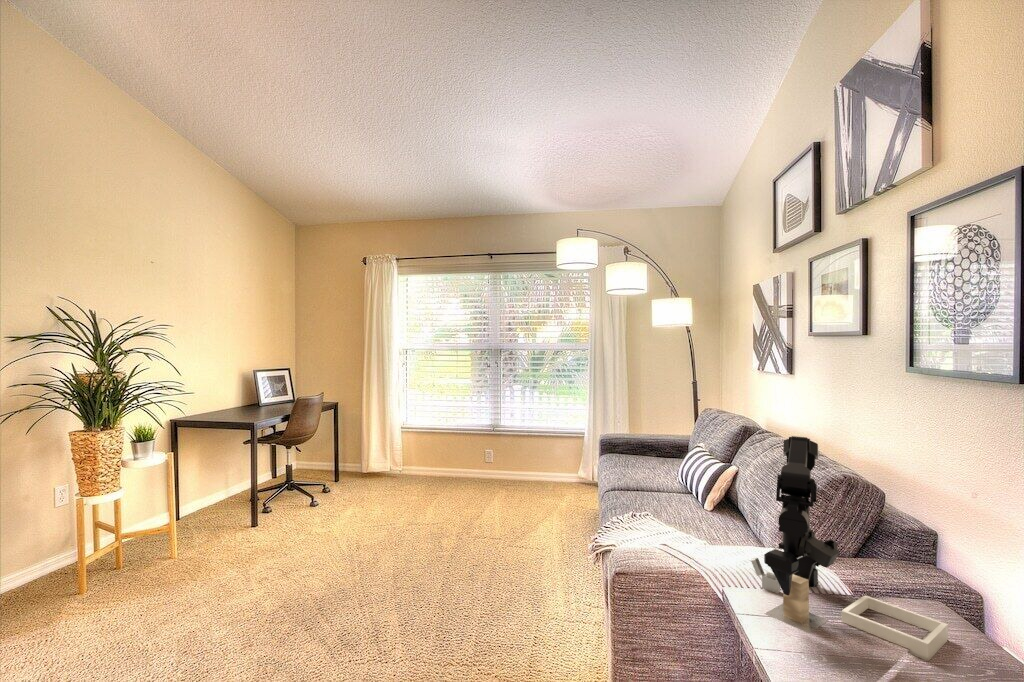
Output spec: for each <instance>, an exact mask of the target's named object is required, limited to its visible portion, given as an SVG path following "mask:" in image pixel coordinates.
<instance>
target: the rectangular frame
mask: <svg viewBox="0 0 1024 682" xmlns="http://www.w3.org/2000/svg"><path fill="white" fill-rule="evenodd" d="M868 609H870V610H872V611H875V612H878V613H879V614H883V615H886V616H888V617H891V618H894V619H896V620H899V621H902V622H905V623H906V624H910V625H913V626H915V627H918V628H921V629H923V630H925V631H928V632H927V633H925V635H923V637H921V638H918V637H916V636H914V635H911V634H909V633H906V632H903V631H900V630H898V629H895V628H893V627H889V626H888V625H884V624H882V623H879V622H877V621H875V620H871V619H869V618H866V617H863V616H861V614H862V613H864V612H865V611H866V610H868ZM840 615H841V618H840V619H841V620H840V621H841V622H842V623H844V624H847V625H849V626H852V627H854V628H856V629H858V630H861V631H864V632H866V633H869V634H870V635H871V634H872V635H874V636H876V637H878V638H881V639H884V640H886V641H889V642H891V643H894V644H896V645H898V646H901V647H904V648H906V649H908V651H907V652H906V653H907V654H909V655H912V656H914V657H917V658H918V659H922V660H924V661H926V660H927V662H929V661H930V660H931V658H933V657H934V656H935V654H936V653H937V652H939V650H940V649H942V647H943V646H944V645H945V644H946V643H947V642H948V641H949V624H948V623H945V622H943V621H939V620H937V619H935V618H933V617H932V618H931V617H929V616H925V615H922V614H921V613H920V614H919V613H918V612H915V611H911V610H908V609H905V608H903V607H901V606H897V605H895V604H891V603H889V602H885V601H883V600H880V599H876V598H874V597H871V596H868V595H863V596H862V597H860V598H858V599H857V600H855V601H854V602H852V603H851V604H849V605H847V606H846V607H845V608H844V609H842V610H841V613H840ZM947 640H948V641H947Z"/></svg>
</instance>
